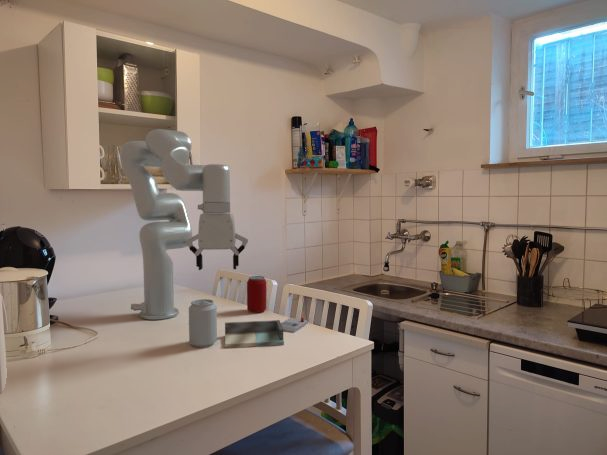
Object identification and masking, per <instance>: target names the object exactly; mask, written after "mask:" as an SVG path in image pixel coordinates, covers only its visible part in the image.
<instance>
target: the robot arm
mask: <svg viewBox="0 0 607 455" xmlns="http://www.w3.org/2000/svg"><path fill="white" fill-rule="evenodd" d="M120 149H121V150H120V153H119V154H120V158H119V159H120V165H121V168H122V171H123V173H124V175H125V177H126V179H127V181H128V183H129V185H130V187H131V193H132V196H133V200H134V203H135V208H136V212H137V213H138V216H139V217H140V219H142V220H144V221H146V222H147V221H148V223H145V224H144V225H143V226H142V227H141V228H140V230H139V236H138V238H139V243H140V247H141V252H142V264H143V265H142V266H143V268H142V269H143V299H144V300H143V302H141V303H131V304H130V309H131V310H133V311H140V312H139V317H140V318H141V319H143V320H149V321H150V320H152V321H155V320H158V321H159V320H166V319H171V318H174V317H176V316H178V315H179V312H180V311H179V309H178V308H176V307H175V306H174V305H175V303H174V301H175V300H174V295H175V294H174V292H175V291H174V262H173V260H172V258H171V256H170V255H169V254H168V252H167V251H168V250H176V249H177V250H178V249H182V248H187V247H188V248H189V250H190V251H191V252H192V253H193V254H194V255H195V257H196V258H195V261H196V262H195V263H196V265H195V266H196V267H197V268H198V271H202V270H203V269H204V266H203V262H204V261H203V255H202V253H203V251H204V250H205V251H206V250H207V251H208V250H210V251H211V250H215V251H216V250H231V251H232V253H233V256H232V261H233V262H232V266H233V267H232V268H233V270H237V267H239V265H240V264H239V262H240V261H239V257H240V256H239V255H240V253H241V252H243V251H244V250H245V248H246V247H247V244H248V242H249V238H247V237H244V236H242V235H240V234H238V233H236V228H235V226H236V225H235V220H234V219H235V218H234V215H233V213H231V182H230V180H231V179H230V178H231V176H230V172H231V171H230V167H229V166H228V165H226V164H219V163H217V164H215V163H214V164H213V163H211V164H204V165H203V164H191V163H190V164H188V162H189V160H190V152H191V151H192V140H191V138H190V136H189V135H188V134H187V132H186V133H185V132H183V131H181V130H171V129H164V128H156V129H152V130H150V131H149V132H148V133H147V134H146V136H145V139H144V140H131V141H128V142H125V143H124V144H123V145H122V147H121V148H120ZM145 167H155V168H157V167H158V168H161V173H162V176H163V178H164V180H165V181H166V182H167V183H168V184H170V186H171V187H172V188H174V189H176V190H178V191H181V192H183V191H184V192H185V191H186V192H188V191H189V192H195V191H196V192H202V203H201V204H197V210H201V211H202V213H200V214H199V219H198V229H197V230H198V233H197V234H195V235H193V231H192V227H191V226H192V225H191V224H190V220H189V215H188V211H187V209H186V205H185V202H184V200H183V198H182V197H181V196H180V195H179V194H177V193H173V192H161V191H160V189H159V186H158V183H157V180H156V179H155V177H154V176H153V175H152V174H151V172H150V171H149V170H147V169H146V168H145ZM149 221H150V222H149ZM151 221H152V222H151ZM236 240H238V241H240V242H241V245H240V246H239V247H237V246H236ZM195 241H197V243H198V244H197V245H198V248H197V247H196V246H194V244H193V242H195Z"/></svg>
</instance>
